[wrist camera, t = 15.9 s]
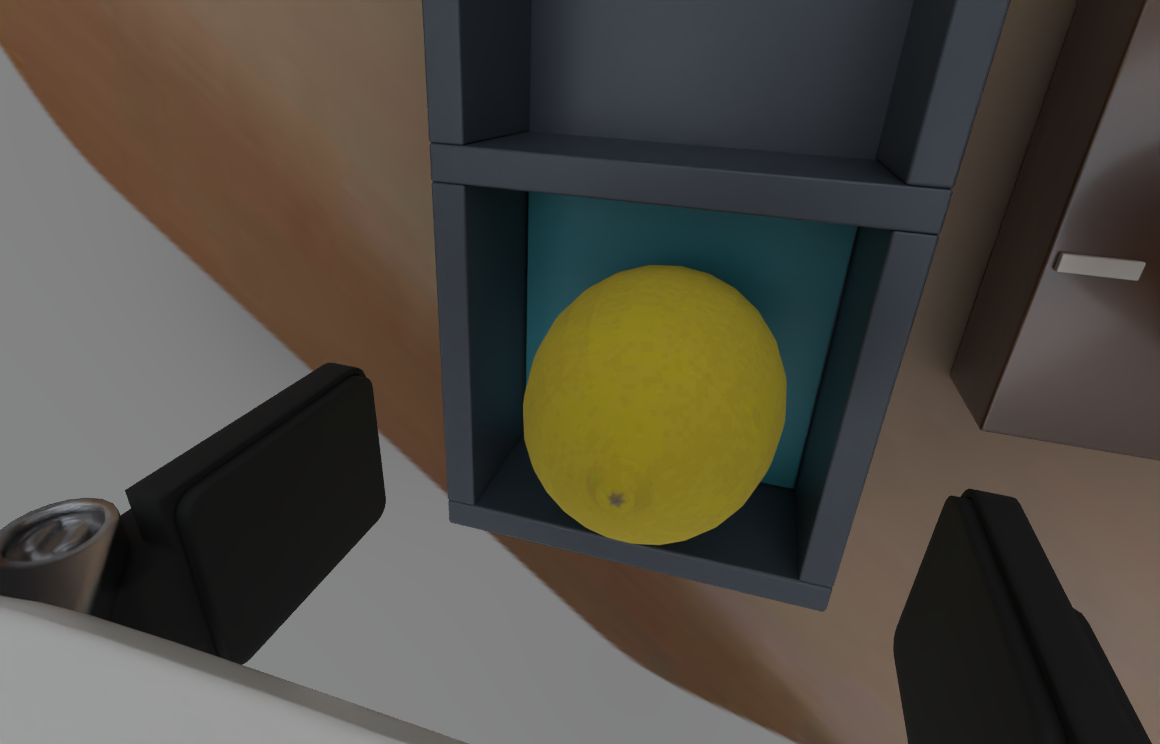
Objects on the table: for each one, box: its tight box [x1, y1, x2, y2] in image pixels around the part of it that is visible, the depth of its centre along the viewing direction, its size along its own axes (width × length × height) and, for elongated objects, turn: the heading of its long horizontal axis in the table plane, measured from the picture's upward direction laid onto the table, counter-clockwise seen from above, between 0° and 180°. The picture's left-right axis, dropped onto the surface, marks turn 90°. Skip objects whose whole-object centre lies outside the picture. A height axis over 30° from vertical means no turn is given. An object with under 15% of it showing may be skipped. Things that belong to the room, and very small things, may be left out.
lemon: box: [523, 265, 787, 545], centre depth 14 cm, size 6×6×8 cm
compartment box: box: [422, 0, 1010, 612], centre depth 14 cm, size 19×10×5 cm, turn 177°
